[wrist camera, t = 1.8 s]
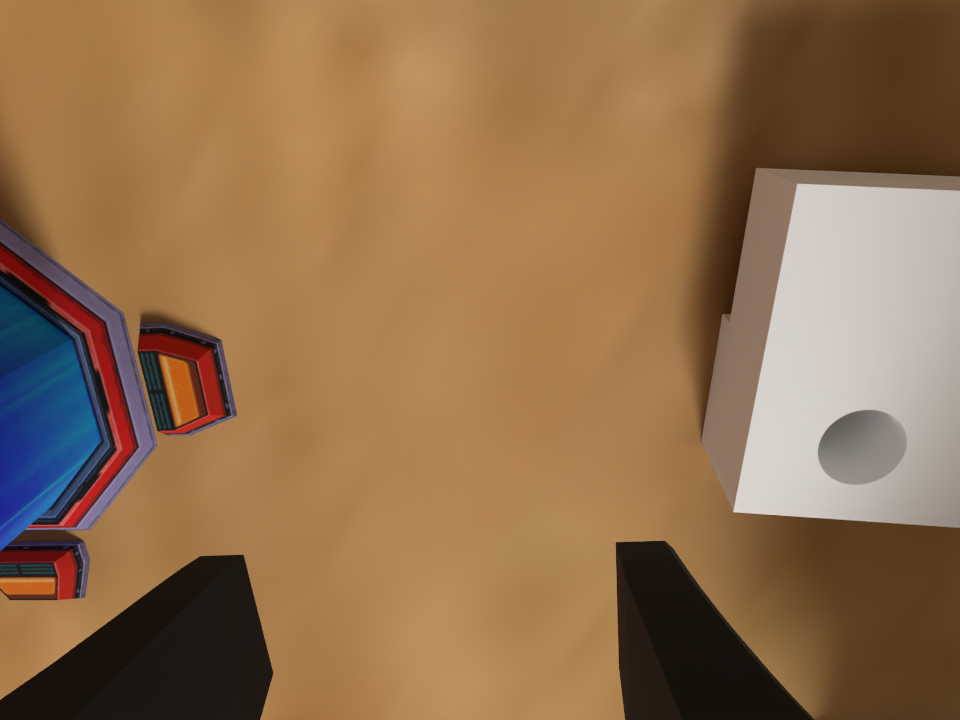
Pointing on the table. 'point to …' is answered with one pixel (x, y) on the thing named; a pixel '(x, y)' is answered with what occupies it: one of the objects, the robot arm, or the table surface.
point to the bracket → (842, 351)
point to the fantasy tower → (82, 411)
